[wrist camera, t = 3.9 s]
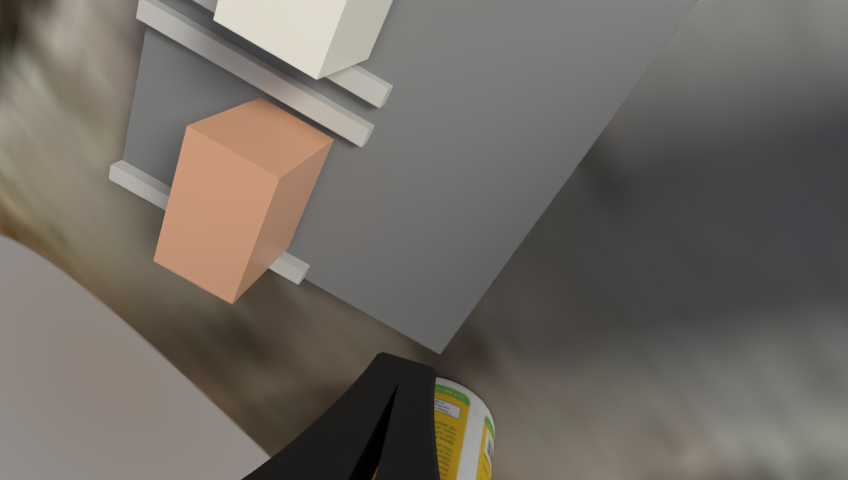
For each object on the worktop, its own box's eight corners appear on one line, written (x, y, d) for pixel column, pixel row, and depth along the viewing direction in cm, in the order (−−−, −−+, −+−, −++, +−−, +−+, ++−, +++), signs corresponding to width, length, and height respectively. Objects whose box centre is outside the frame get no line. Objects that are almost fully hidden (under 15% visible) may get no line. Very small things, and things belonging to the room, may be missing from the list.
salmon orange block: (334, 139, 15) (279, 178, 12) (288, 247, 17) (232, 304, 14) (260, 97, 15) (187, 126, 12) (223, 211, 17) (153, 260, 14)
